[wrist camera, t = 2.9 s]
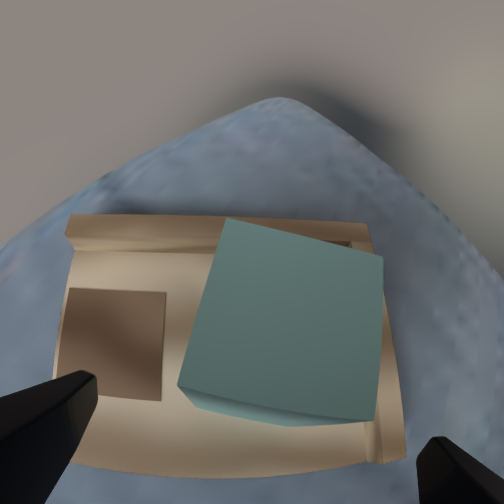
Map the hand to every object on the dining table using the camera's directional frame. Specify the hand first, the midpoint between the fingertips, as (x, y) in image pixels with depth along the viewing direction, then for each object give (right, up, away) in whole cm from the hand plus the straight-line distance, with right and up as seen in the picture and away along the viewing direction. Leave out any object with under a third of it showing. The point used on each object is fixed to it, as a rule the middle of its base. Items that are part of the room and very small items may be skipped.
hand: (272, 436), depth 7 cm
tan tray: (-3, -1, +11) cm, 11 cm away
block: (-1, -2, +10) cm, 10 cm away
